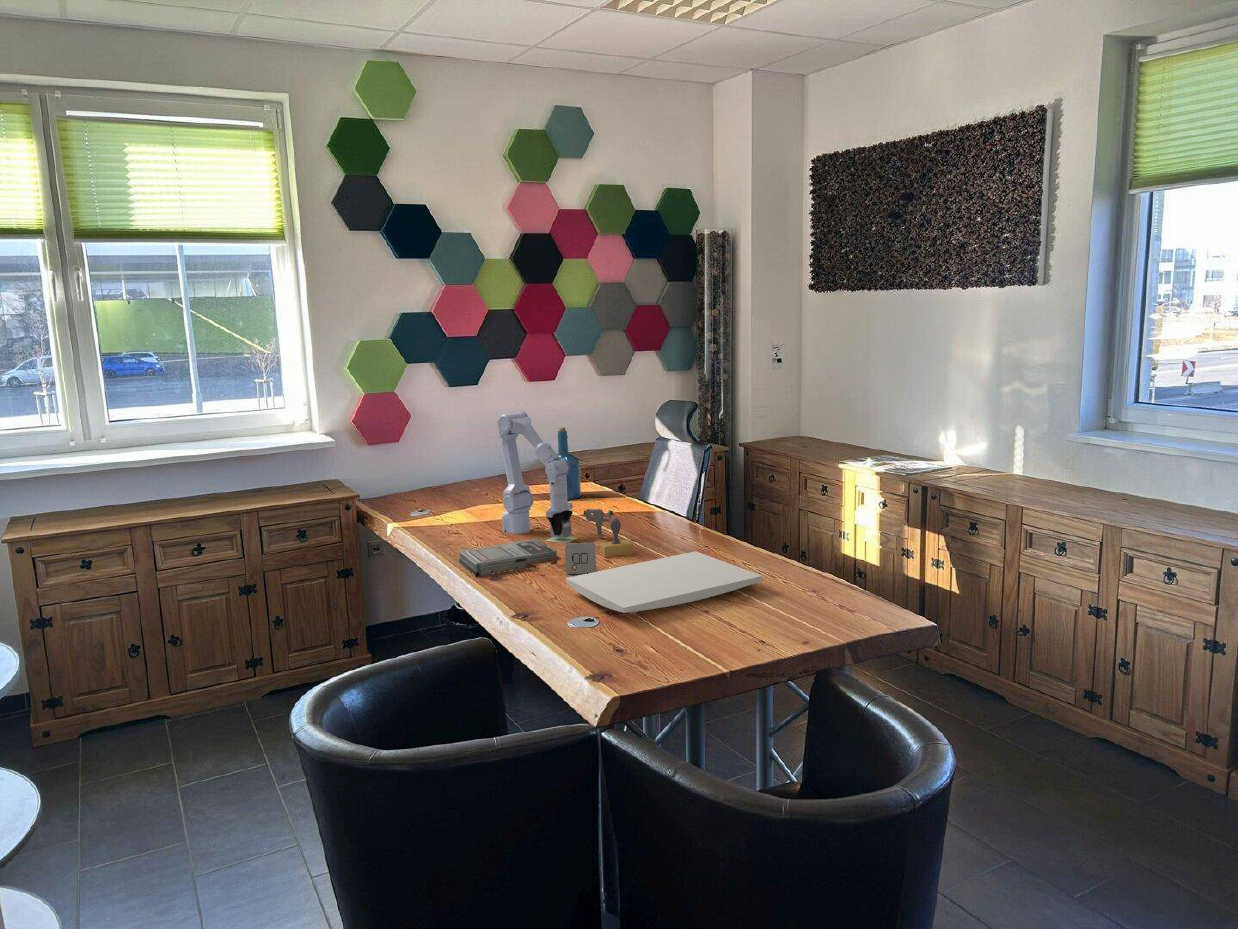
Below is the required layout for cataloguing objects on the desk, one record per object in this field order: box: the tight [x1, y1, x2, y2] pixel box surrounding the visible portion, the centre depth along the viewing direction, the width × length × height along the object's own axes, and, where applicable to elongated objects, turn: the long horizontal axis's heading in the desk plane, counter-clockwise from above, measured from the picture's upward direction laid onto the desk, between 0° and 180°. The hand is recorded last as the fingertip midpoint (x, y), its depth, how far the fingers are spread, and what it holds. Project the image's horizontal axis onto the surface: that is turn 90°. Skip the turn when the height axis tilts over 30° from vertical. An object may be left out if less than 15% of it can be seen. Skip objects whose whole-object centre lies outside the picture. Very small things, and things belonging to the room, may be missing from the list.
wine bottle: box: [548, 426, 582, 501], centre depth 389 cm, size 14×13×30 cm
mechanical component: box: [583, 508, 614, 536], centre depth 322 cm, size 3×10×10 cm, turn 79°
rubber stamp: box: [598, 517, 634, 558], centre depth 301 cm, size 10×6×12 cm, turn 109°
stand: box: [544, 536, 578, 544], centre depth 317 cm, size 9×7×2 cm
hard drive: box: [458, 538, 558, 578], centre depth 295 cm, size 18×27×4 cm
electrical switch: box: [564, 542, 597, 575], centre depth 282 cm, size 9×5×9 cm, turn 90°
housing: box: [549, 520, 573, 538], centre depth 316 cm, size 6×4×5 cm, turn 63°
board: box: [565, 551, 763, 615], centre depth 260 cm, size 45×32×5 cm
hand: (560, 533), depth 316 cm, fingers closed on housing, 4 cm apart
